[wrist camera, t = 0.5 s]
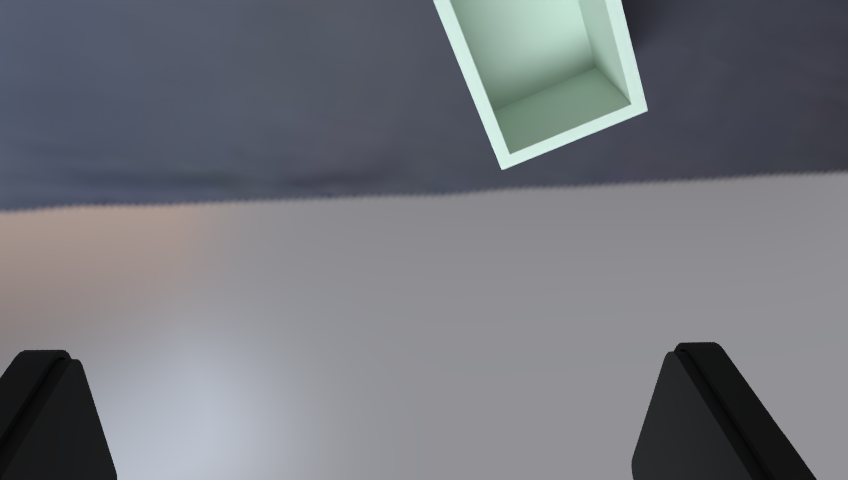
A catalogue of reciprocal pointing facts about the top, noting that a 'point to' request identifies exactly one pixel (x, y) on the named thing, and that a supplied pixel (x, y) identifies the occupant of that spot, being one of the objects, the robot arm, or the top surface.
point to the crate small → (544, 69)
